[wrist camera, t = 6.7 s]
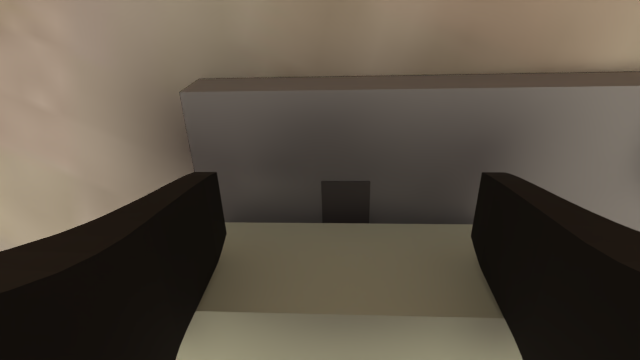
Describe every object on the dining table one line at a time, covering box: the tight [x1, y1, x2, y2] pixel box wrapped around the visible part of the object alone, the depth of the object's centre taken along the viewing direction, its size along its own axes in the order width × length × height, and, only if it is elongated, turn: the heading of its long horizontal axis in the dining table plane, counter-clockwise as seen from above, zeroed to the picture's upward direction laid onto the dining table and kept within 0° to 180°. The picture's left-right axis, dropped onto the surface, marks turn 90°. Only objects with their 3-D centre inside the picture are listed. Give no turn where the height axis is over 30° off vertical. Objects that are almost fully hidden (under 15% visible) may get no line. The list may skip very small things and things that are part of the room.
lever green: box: [177, 222, 523, 360], centre depth 12 cm, size 2×9×4 cm, turn 92°
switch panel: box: [179, 72, 640, 231], centre depth 15 cm, size 16×24×2 cm, turn 92°
